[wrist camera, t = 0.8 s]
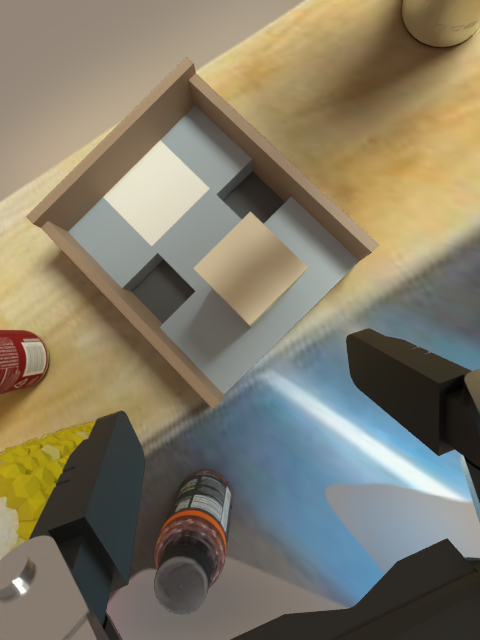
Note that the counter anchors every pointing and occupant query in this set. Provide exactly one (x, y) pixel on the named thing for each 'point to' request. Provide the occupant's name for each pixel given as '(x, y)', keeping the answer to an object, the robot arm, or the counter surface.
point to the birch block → (251, 269)
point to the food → (32, 481)
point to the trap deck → (194, 227)
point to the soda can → (21, 359)
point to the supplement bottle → (193, 542)
